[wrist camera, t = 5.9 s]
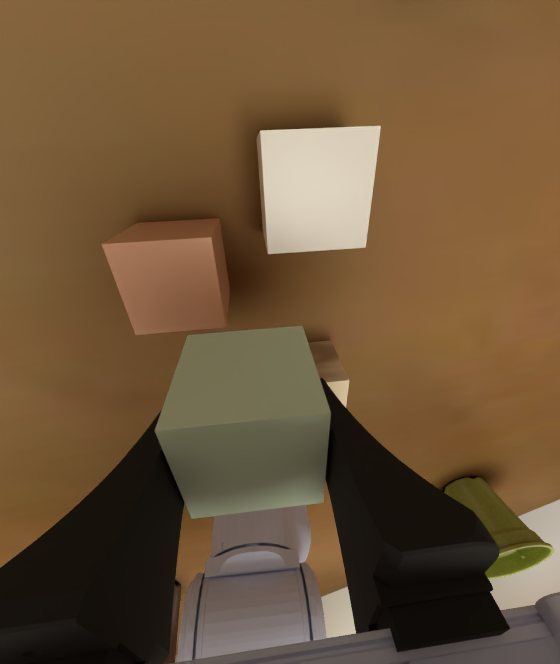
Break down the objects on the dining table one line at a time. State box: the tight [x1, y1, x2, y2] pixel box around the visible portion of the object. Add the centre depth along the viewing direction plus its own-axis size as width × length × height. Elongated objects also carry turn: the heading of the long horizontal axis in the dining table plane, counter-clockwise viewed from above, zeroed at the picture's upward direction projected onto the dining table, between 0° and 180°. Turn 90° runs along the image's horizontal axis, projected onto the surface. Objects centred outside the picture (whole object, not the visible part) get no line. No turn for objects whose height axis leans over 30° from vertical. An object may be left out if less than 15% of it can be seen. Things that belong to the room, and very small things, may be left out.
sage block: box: [155, 326, 331, 519], centre depth 11 cm, size 5×5×5 cm
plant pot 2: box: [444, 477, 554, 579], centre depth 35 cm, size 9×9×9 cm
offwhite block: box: [256, 126, 381, 254], centre depth 15 cm, size 5×5×5 cm
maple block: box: [308, 340, 349, 407], centre depth 22 cm, size 5×5×5 cm
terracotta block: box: [102, 218, 230, 335], centre depth 16 cm, size 5×5×5 cm
